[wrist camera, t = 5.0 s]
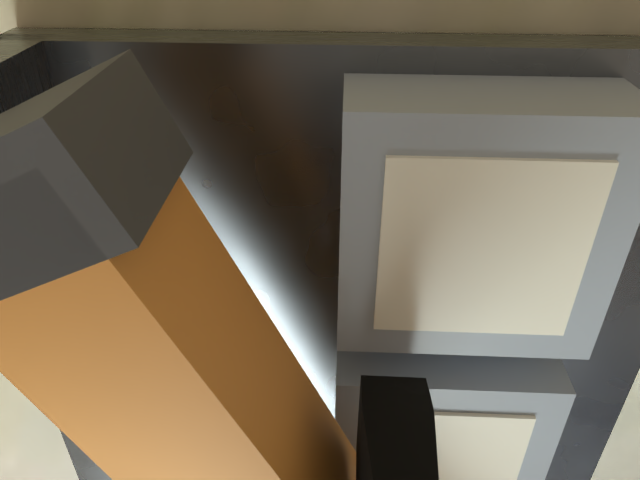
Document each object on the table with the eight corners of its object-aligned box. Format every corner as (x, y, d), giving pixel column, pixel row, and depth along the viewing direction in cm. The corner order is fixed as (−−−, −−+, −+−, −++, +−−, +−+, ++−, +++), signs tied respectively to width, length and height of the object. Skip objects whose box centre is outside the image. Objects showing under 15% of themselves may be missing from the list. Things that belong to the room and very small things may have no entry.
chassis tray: (746, 37, 10) (898, 99, 8) (543, 537, 20) (576, 652, 17) (15, 27, 11) (-107, 82, 8) (155, 519, 20) (121, 627, 17)
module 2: (548, 329, 13) (578, 398, 11) (508, 459, 16) (527, 532, 14) (337, 321, 13) (335, 389, 12) (334, 452, 16) (332, 522, 14)
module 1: (623, 77, 10) (681, 120, 8) (557, 296, 13) (590, 363, 11) (344, 73, 10) (342, 114, 8) (338, 289, 13) (336, 353, 11)
